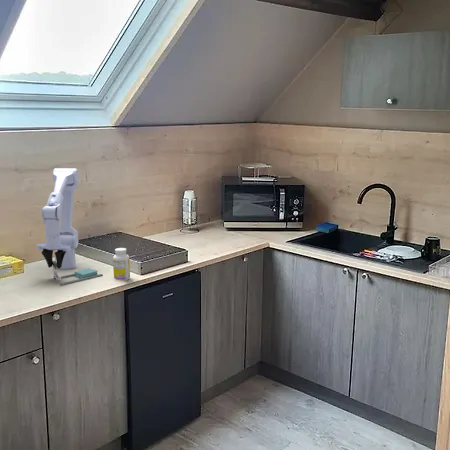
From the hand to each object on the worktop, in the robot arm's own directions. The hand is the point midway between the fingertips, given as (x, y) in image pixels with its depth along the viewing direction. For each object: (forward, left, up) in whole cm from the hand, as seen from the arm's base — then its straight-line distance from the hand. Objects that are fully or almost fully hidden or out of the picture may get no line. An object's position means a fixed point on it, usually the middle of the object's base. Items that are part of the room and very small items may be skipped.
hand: (54, 267), depth 235 cm
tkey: (+2, -1, -5) cm, 5 cm away
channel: (+6, +6, -6) cm, 10 cm away
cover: (+6, +11, -6) cm, 14 cm away
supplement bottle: (+17, +21, -6) cm, 28 cm away
